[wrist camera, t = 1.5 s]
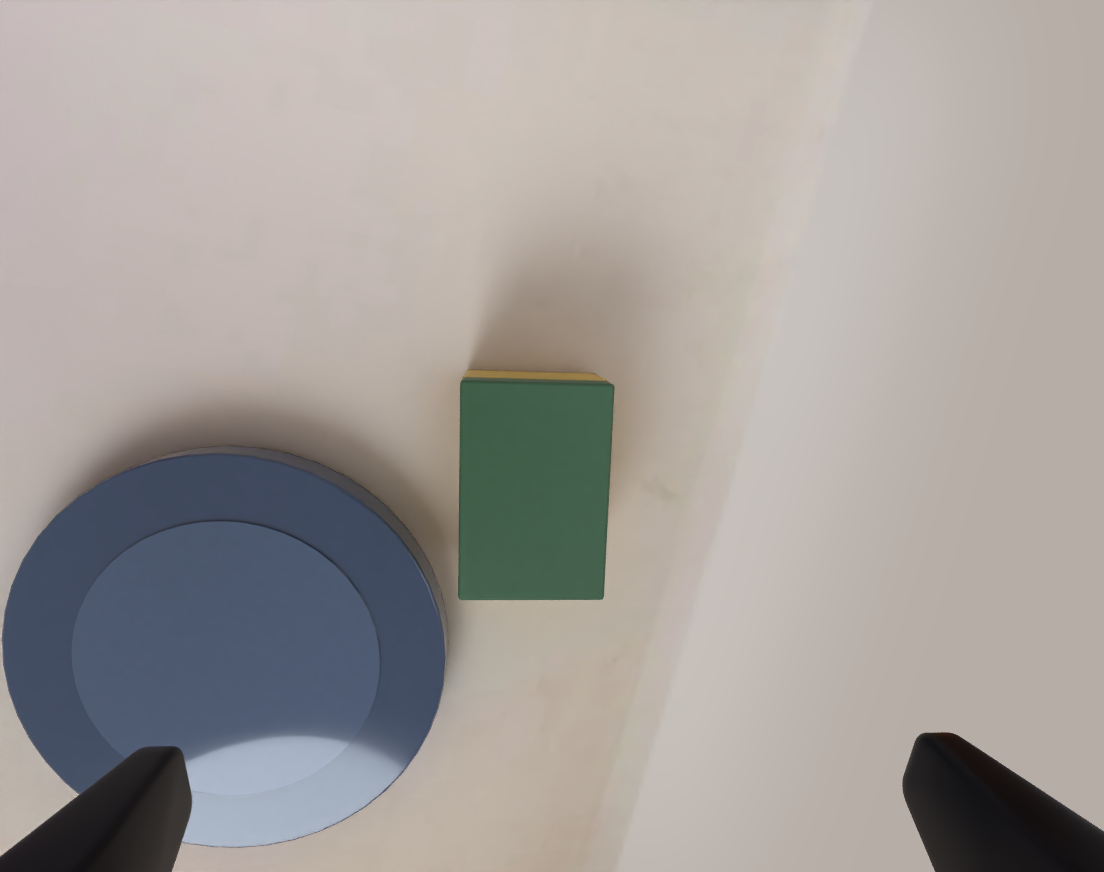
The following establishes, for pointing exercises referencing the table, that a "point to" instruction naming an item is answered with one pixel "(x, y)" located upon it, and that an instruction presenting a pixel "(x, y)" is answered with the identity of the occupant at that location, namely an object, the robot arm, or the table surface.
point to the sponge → (533, 485)
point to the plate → (230, 639)
